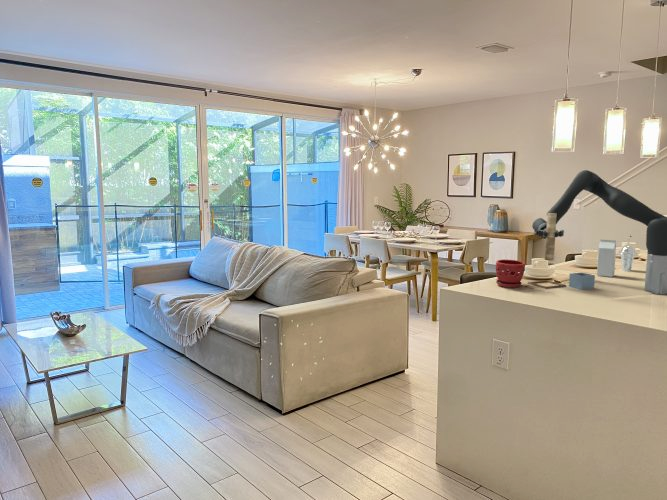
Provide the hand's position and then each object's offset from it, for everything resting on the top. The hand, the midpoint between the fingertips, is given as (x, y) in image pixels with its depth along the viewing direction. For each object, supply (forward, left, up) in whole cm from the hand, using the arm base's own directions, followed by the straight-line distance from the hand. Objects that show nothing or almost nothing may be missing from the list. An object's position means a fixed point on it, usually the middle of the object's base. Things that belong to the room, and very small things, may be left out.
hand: (551, 234), depth 230 cm
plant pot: (+10, +14, -25) cm, 31 cm away
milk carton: (+13, -50, -25) cm, 57 cm away
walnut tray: (+2, -1, -25) cm, 25 cm away
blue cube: (-8, -12, -25) cm, 29 cm away
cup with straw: (+20, -73, -25) cm, 80 cm away
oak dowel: (+2, -2, -12) cm, 13 cm away
